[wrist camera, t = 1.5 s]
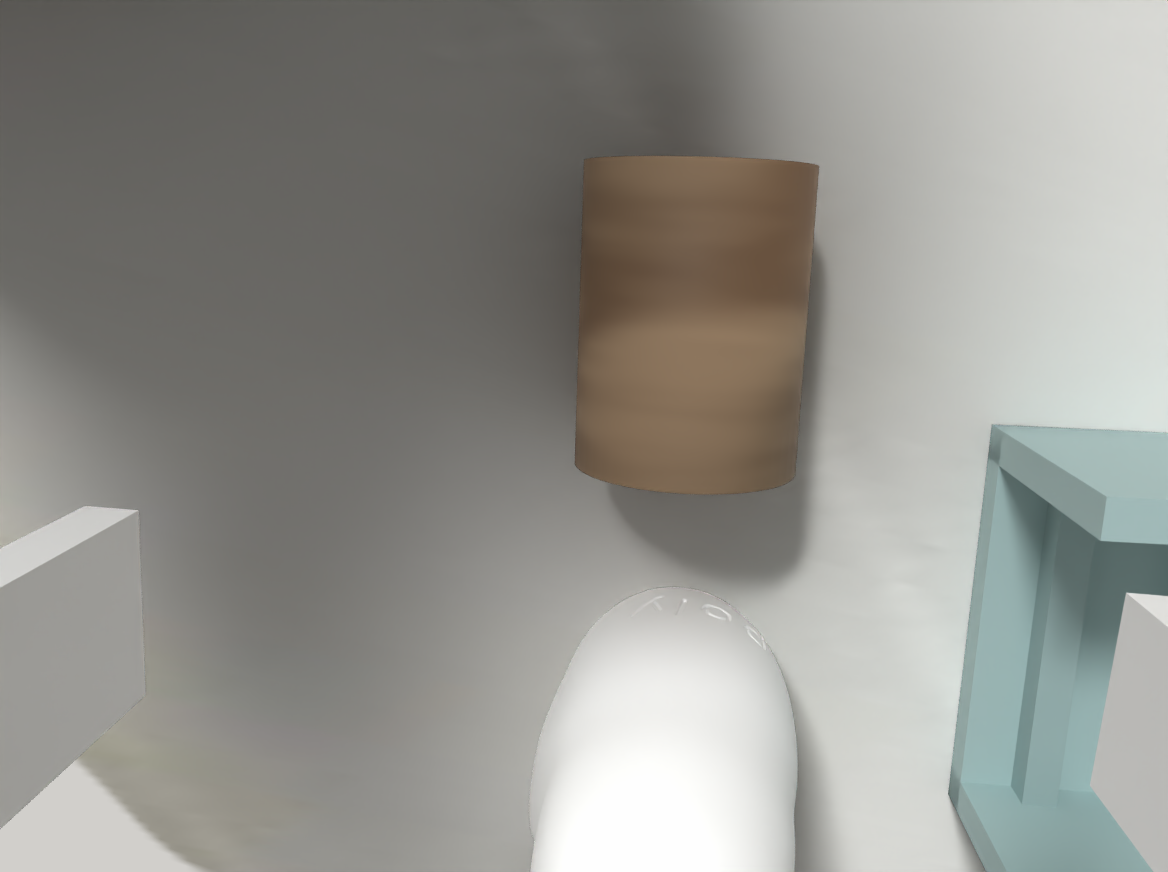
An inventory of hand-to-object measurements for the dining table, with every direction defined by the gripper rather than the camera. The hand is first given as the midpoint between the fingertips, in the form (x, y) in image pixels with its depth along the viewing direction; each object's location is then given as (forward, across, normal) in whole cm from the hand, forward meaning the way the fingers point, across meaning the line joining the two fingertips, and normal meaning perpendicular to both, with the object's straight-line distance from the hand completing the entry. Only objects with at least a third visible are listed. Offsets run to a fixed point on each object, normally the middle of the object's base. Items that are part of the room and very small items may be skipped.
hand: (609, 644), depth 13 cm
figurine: (+18, +2, -9) cm, 20 cm away
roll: (+14, +1, +3) cm, 15 cm away
